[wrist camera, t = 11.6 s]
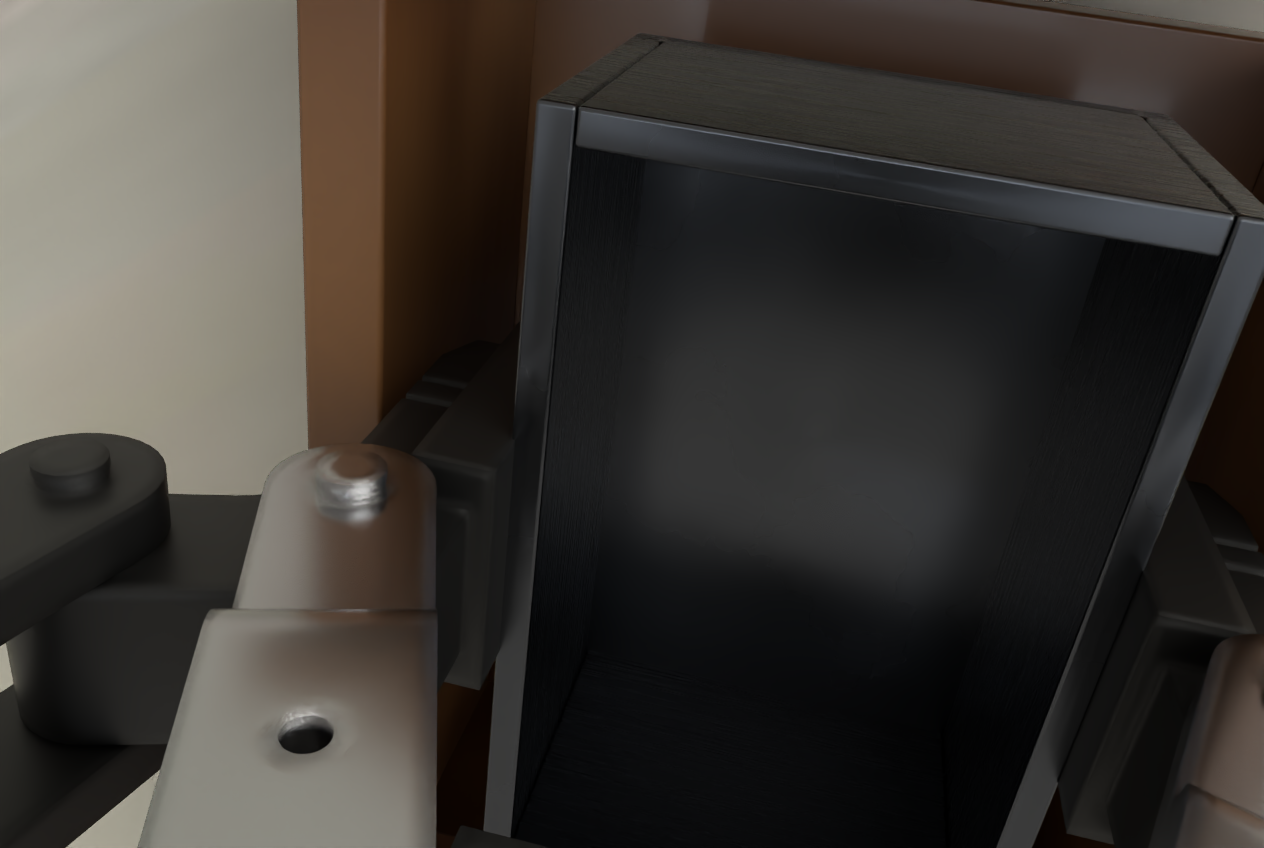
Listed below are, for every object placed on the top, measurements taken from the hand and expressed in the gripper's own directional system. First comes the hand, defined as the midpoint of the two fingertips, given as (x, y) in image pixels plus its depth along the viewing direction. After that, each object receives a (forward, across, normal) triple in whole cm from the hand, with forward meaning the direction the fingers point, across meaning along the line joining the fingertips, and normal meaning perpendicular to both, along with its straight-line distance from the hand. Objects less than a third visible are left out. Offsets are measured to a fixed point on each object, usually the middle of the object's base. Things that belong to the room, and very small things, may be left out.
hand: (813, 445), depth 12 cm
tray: (0, 0, 0) cm, 0 cm away
